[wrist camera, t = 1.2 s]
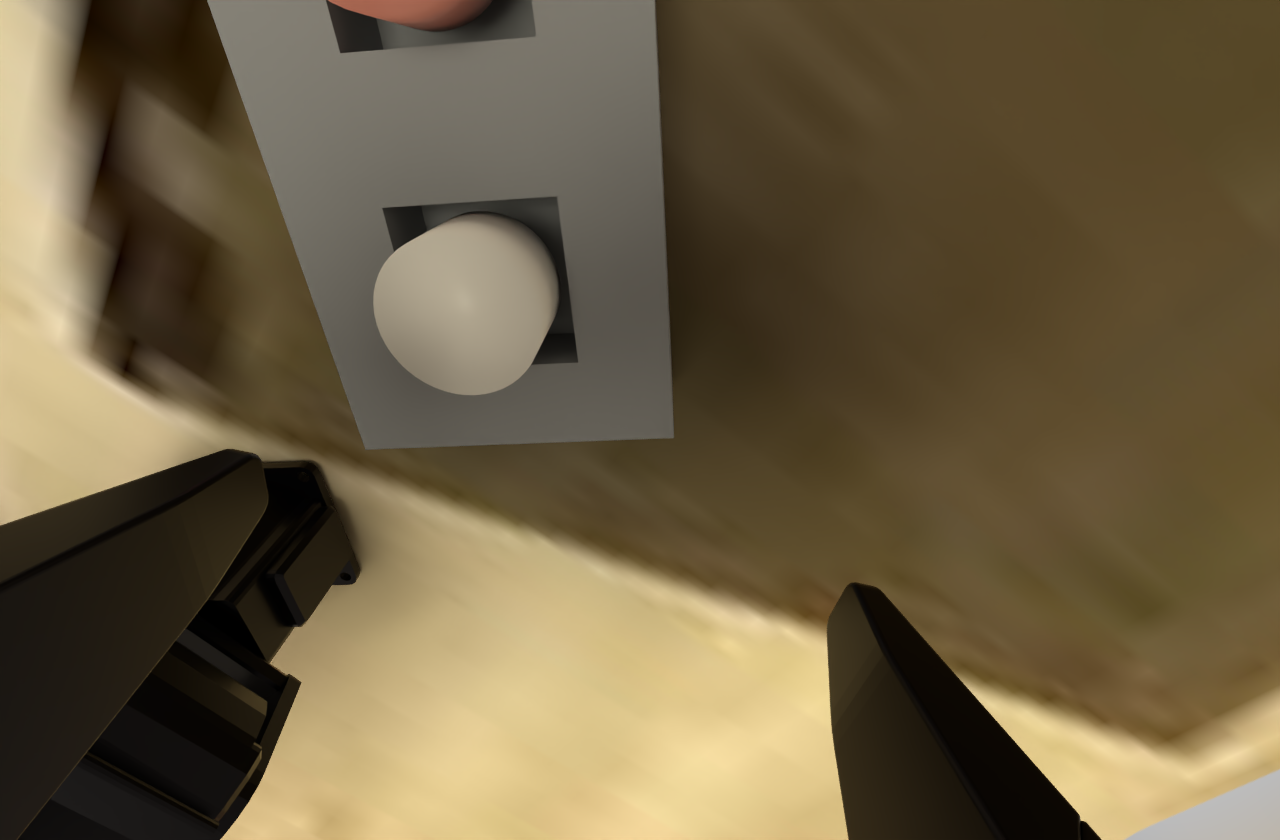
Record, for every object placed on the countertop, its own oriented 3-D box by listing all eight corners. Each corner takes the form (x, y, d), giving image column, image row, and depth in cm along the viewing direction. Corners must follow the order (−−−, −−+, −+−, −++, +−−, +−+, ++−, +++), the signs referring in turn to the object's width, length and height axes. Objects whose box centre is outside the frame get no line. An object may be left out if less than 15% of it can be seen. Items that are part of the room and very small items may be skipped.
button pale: (438, 353, 17) (399, 398, 15) (404, 215, 16) (351, 239, 13) (569, 347, 17) (552, 391, 15) (550, 206, 15) (526, 228, 13)
